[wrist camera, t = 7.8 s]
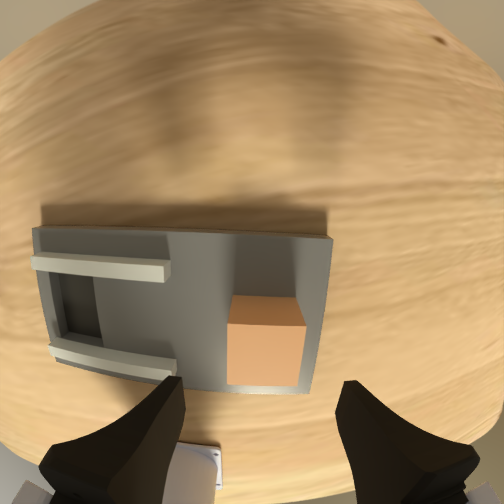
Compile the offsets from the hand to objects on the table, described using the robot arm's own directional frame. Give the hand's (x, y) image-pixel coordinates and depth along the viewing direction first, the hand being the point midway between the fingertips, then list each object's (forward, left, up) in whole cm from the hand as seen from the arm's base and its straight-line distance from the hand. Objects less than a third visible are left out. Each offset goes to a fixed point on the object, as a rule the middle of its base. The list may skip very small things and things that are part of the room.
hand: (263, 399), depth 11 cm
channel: (0, +8, -9) cm, 12 cm away
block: (0, 0, -7) cm, 7 cm away
